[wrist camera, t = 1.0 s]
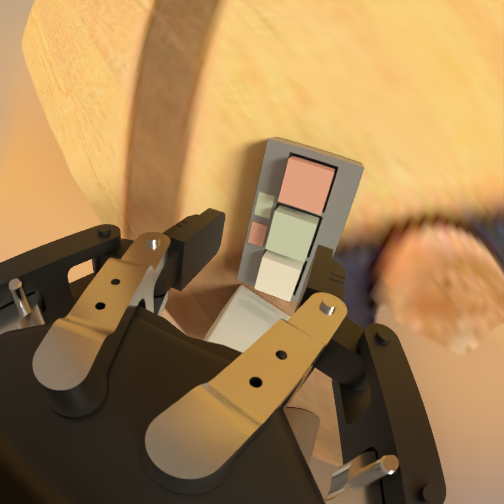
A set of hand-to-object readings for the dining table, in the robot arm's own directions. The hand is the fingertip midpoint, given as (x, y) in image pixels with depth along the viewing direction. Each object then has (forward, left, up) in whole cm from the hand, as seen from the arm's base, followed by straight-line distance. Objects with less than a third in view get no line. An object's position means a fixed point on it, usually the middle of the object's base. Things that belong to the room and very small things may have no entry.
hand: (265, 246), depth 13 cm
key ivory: (-9, +4, -14) cm, 17 cm away
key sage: (-5, +2, -14) cm, 15 cm away
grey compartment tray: (-5, +2, -17) cm, 18 cm away
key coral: (0, 0, -14) cm, 14 cm away
